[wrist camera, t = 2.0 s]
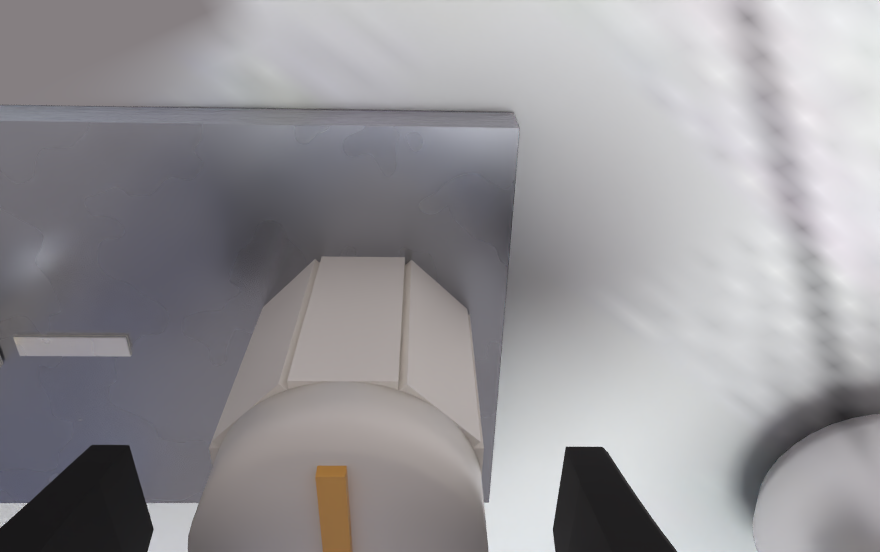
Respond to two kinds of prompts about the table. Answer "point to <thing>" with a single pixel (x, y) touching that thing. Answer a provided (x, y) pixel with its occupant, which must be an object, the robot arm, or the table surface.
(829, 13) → the table surface
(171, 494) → the flat rectangular plate
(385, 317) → the knob
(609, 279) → the table surface
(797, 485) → the plastic bottle
